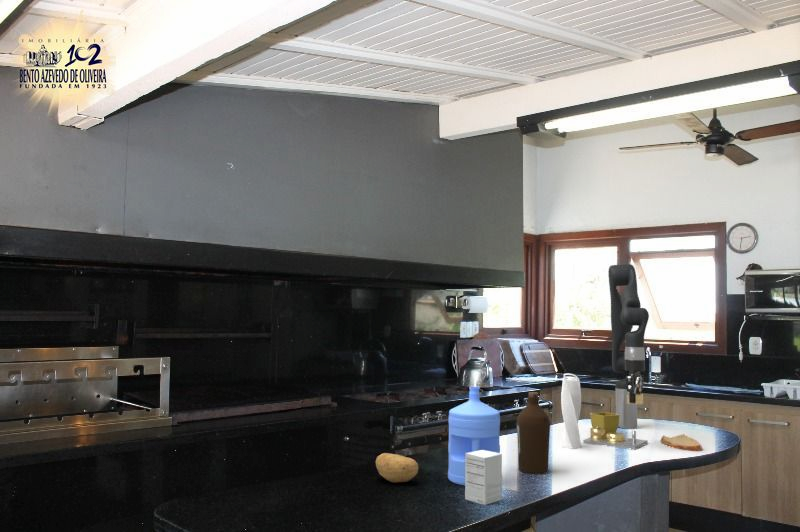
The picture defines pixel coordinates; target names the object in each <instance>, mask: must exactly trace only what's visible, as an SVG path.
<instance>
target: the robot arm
mask: <svg viewBox="0 0 800 532" xmlns="http://www.w3.org/2000/svg"><path fill="white" fill-rule="evenodd" d="M608 267H609V268H608V274H607V275H608V286H609V295H610V325H611V327H610V328H611V338H612V340H611V341H612V343H611V349H612V350H611V367H612V370H613V373H618V374H619V373H620V374H628V375H626V376H625V378H624V379H623V378H622V379H620V380H617V381H615V385H614V387H615V414H618V415H619V424H618V428H619V427H620V429H628V428H630V429H632V428H633V429H637V428H638V404H628V403H627V394H629V402H630V403H635V402H636V394H642V391H643V390H644V374H641V372H645V371H646V352H645V334H646V328H647V325H648V322H649V317H650V315H649V311H648V310H647V309H646V308H644V307H641V305H642V304H641V301H640V297H639V293H638V280H637V274H636V272H637V271H636V268H635V267H634V265H633V264H631V263H625V264H624V263H623V264H613V265H610V266H608ZM621 286H622V287H623V286H626V287H624V289H623V290H622V292H621V293H619V290H618V287H621ZM634 326H636V327H637V326H638V328H637V329H636V330H633V328H634ZM632 330H633V331H632ZM624 341H625V342H624ZM623 343H624V344H625V348H624V351H623V352H622V351H621V352H620V350H621V348H622V345H623Z"/></svg>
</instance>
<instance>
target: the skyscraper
mask: <svg viewBox="0 0 800 532" xmlns="http://www.w3.org/2000/svg"><path fill="white" fill-rule="evenodd" d="M560 394H561V395H560V399H561V400H560V403H561V413H562V419H563V423H564V425H563V431H562V432H563V433H562V437H561V438H562V439H561V448H566V449H571V450H574V448H575V449H579V447H580V448H582V442H581V436H580V430H579V420H580V415H581V410H582V409H581V408H582V389H581V382H580V378H579V377H578V376H577V375H575V374H573V373H569V372H567V373H564V374H563V377H562V383H561V393H560Z"/></svg>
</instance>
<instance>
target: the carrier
mask: <svg viewBox="0 0 800 532" xmlns="http://www.w3.org/2000/svg"><path fill="white" fill-rule="evenodd" d="M589 430H590V433H589V435H590V436H589V437H587V438H585V439H583V444H586V443H588V444H589V445H594V444H598V445H597V446H602V445H607V446H606V447H609V446H615V447H614V448H617V447H622V448H621V449H625V448H631V449H630V450H632V449H635V450H637V449H639V448H641V447H643V446H642V445H644V444H646V445H647V443H648V439H647V440H646V439H638V438H637V437H636V435H637V432H636V430H631V438H630V437H626V434H625V433H621V432H616V433H614V432H610V433H606V435H605V429H603V428H600V427H596V428H592V427H590V429H589ZM588 444H587V445H588ZM640 446H641V447H640ZM644 446H645V445H644ZM638 447H639V448H638ZM636 448H637V449H636Z"/></svg>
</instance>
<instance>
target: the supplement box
mask: <svg viewBox="0 0 800 532" xmlns="http://www.w3.org/2000/svg"><path fill="white" fill-rule="evenodd" d="M502 455H503V454H502V453H501V452H500V453H496V452H491V451H485V450H479V451H474V452H470V453H465V486H464V487H465V490H464V499H465V501H469V502H473V503H476V504H480V505H482V506H483V505H484V506H486V505H490V504H492V503H496V502H500V501H502V500H503V488H502V487H503V485H502V484H503V475H502V474H503V467H502V465H503V458H502V457H503V456H502Z"/></svg>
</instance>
